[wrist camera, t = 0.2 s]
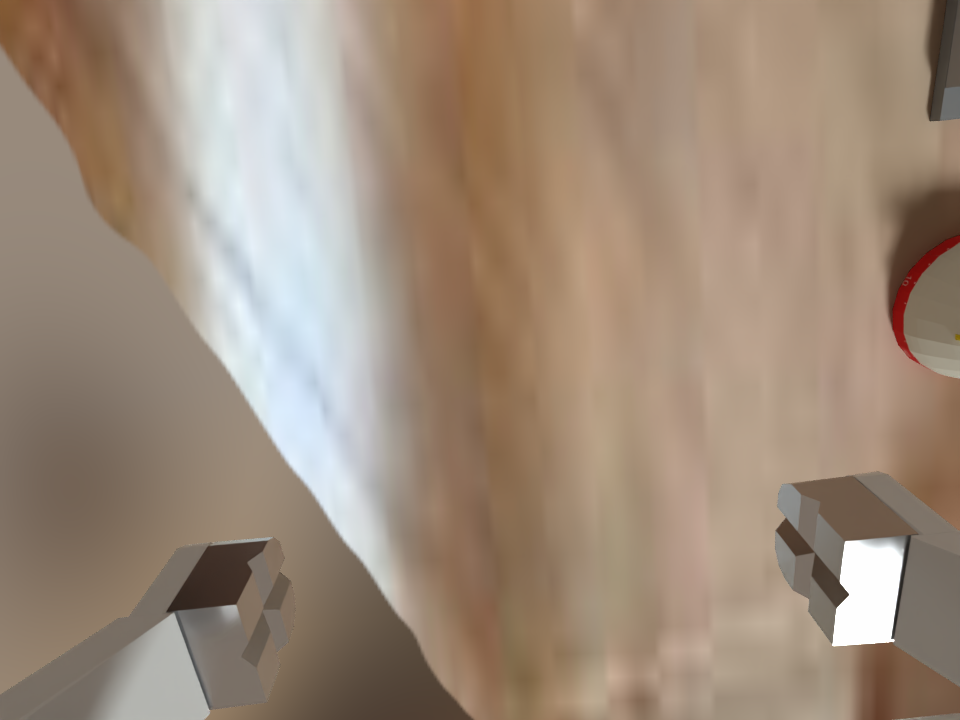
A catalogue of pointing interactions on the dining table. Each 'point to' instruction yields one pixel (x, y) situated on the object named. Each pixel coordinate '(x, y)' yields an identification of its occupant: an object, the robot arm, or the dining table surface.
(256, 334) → the dining table surface
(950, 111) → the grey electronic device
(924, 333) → the kitchen timer
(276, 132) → the dining table surface
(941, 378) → the dining table surface
